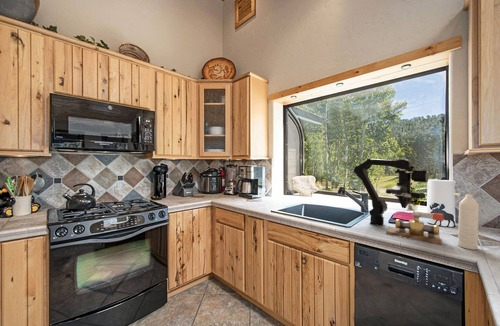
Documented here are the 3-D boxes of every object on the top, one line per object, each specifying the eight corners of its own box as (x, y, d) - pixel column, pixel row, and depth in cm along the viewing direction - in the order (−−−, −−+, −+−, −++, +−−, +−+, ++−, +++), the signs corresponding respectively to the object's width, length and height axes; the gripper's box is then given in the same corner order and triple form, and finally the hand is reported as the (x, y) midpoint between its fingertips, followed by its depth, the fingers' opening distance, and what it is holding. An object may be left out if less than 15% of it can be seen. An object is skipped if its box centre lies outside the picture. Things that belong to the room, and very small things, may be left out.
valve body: (395, 231, 116) (395, 215, 116) (396, 228, 121) (396, 213, 121) (439, 239, 105) (439, 221, 105) (438, 236, 110) (438, 218, 110)
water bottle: (475, 246, 101) (477, 194, 100) (479, 251, 96) (481, 196, 95) (450, 241, 106) (452, 192, 105) (452, 246, 101) (454, 194, 100)
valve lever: (413, 217, 112) (413, 211, 112) (412, 215, 115) (412, 210, 115) (443, 221, 106) (443, 215, 106) (442, 219, 108) (442, 213, 108)
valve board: (385, 233, 117) (386, 231, 117) (388, 228, 126) (388, 226, 125) (440, 244, 103) (440, 241, 103) (439, 238, 111) (439, 235, 111)
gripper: (379, 179, 128) (379, 205, 128) (412, 183, 111) (411, 213, 111) (392, 179, 132) (391, 204, 132) (426, 182, 115) (425, 211, 115)
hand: (403, 207), depth 123 cm, fingers closed
